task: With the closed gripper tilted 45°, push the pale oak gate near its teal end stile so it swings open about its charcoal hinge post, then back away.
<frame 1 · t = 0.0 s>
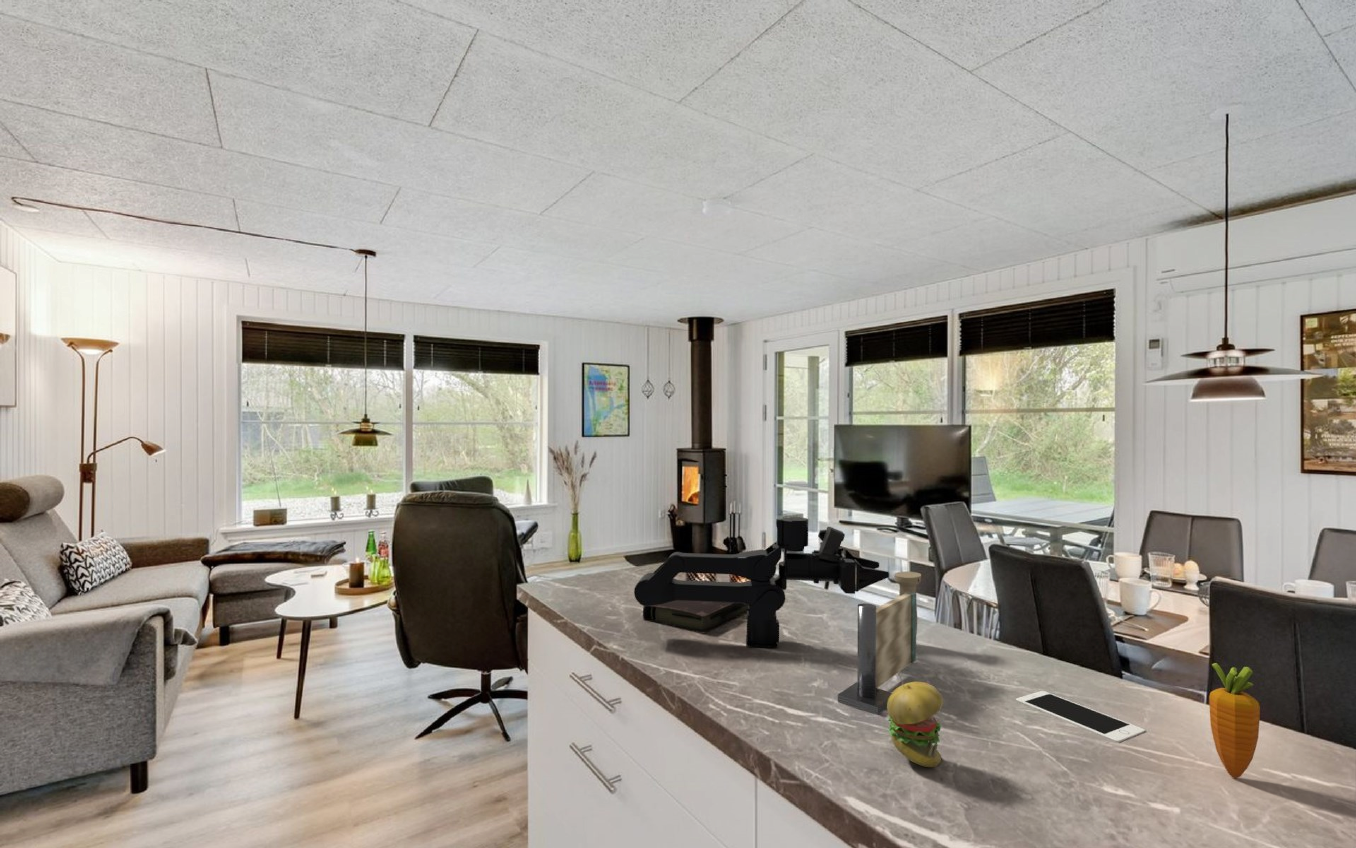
hand: (883, 569, 129), 17 cm above the worktop, tool horizontal, fingers open, 9 cm apart
carrot: (1234, 780, 81), on the worktop
gate: (892, 637, 112), point 8 cm above the worktop, hinge at 0.0°
hamburger: (914, 762, 85), on the worktop
hinge post: (866, 701, 104), on the worktop
handle: (907, 646, 131), on the worktop
cell phone: (1077, 718, 99), on the worktop
diary: (702, 617, 152), on the worktop
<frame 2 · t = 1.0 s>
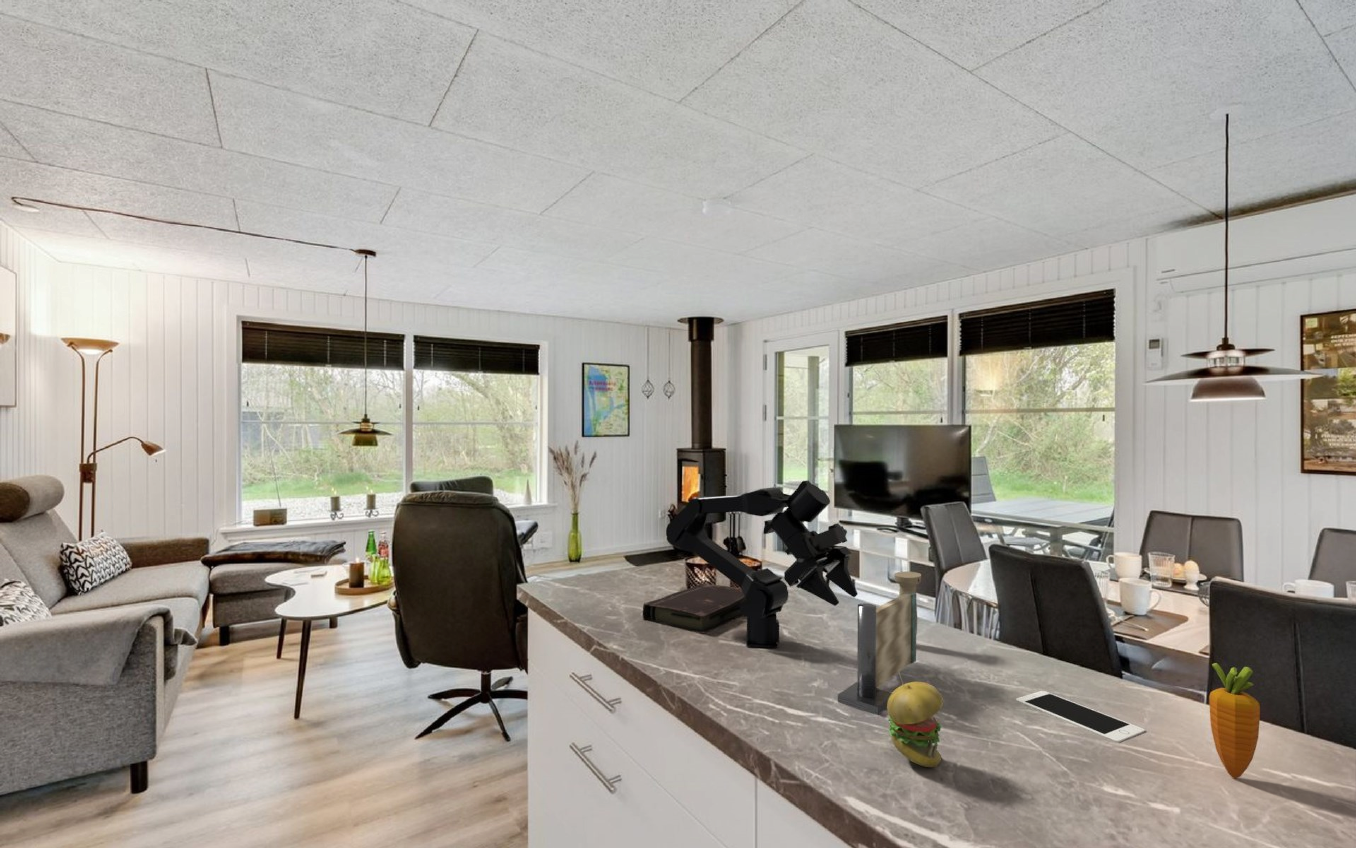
hand: (846, 600, 119), 13 cm above the worktop, tool tilted 45°, fingers open, 8 cm apart
nothing on the worktop moved.
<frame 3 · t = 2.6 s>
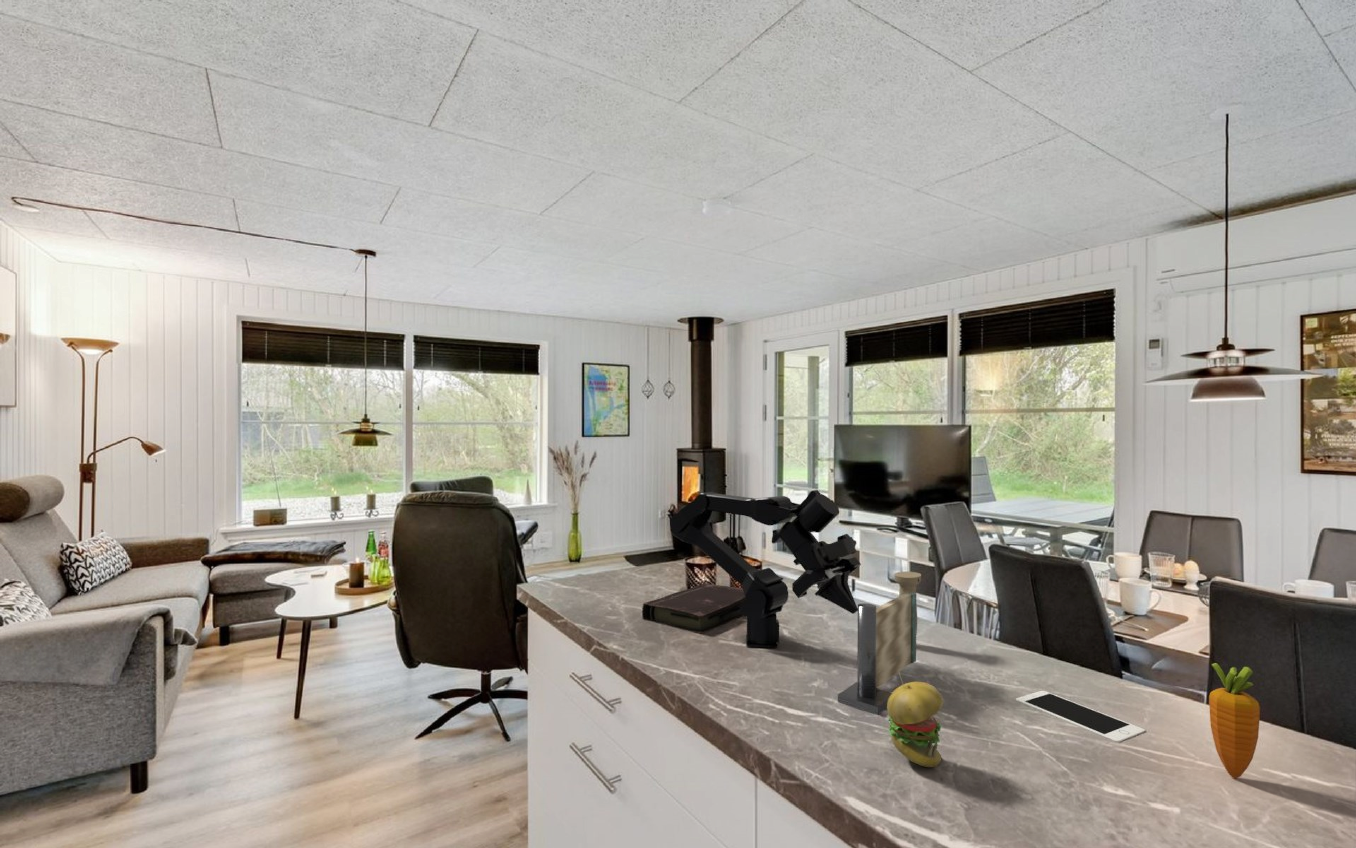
hand: (855, 612, 118), 11 cm above the worktop, tool tilted 45°, fingers closed
nothing on the worktop moved.
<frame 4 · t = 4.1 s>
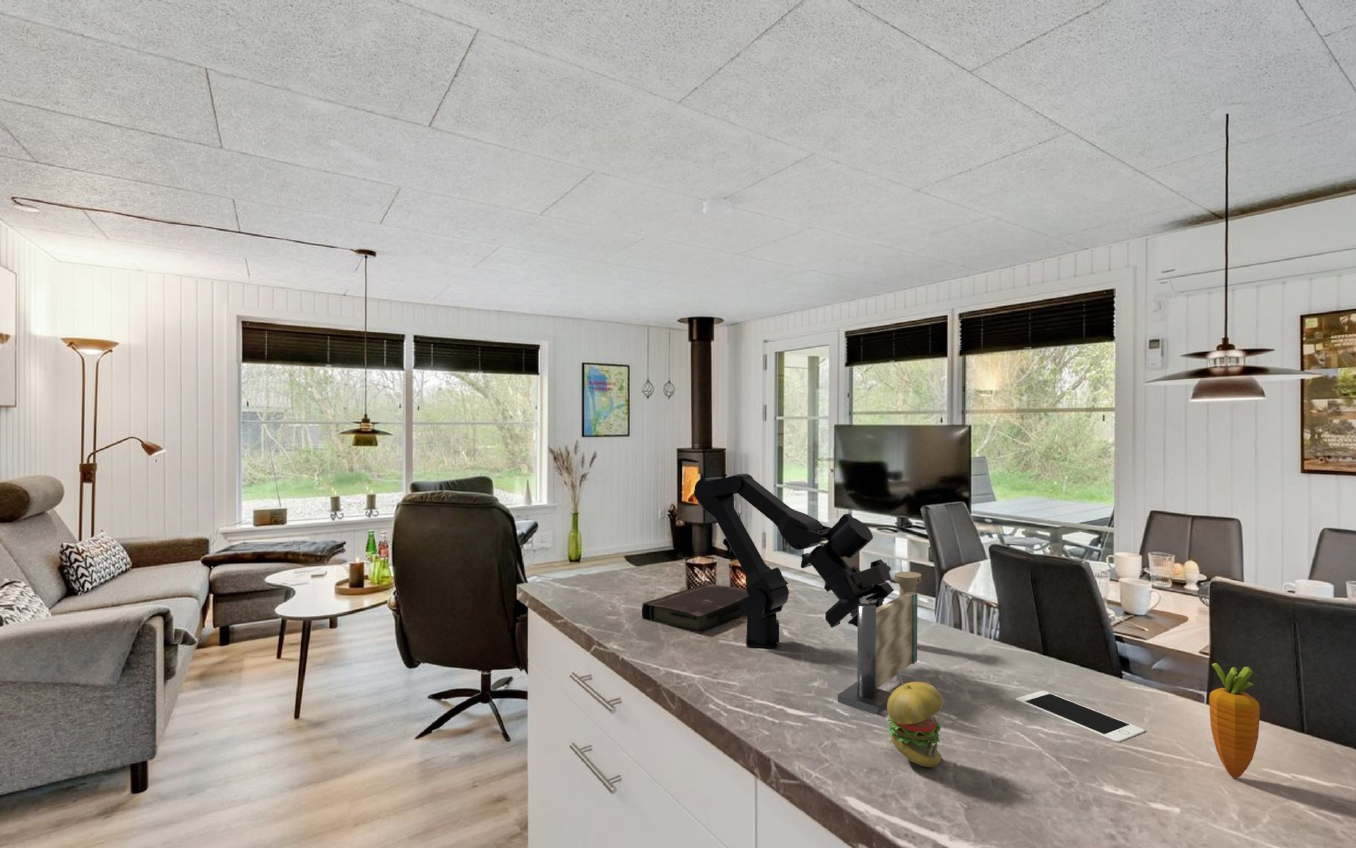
hand: (891, 642, 113), 7 cm above the worktop, tool tilted 45°, fingers closed, pressing on gate
gate: (893, 637, 112), point 8 cm above the worktop, hinge at 0.6°, touching gripper
everything else where it was.
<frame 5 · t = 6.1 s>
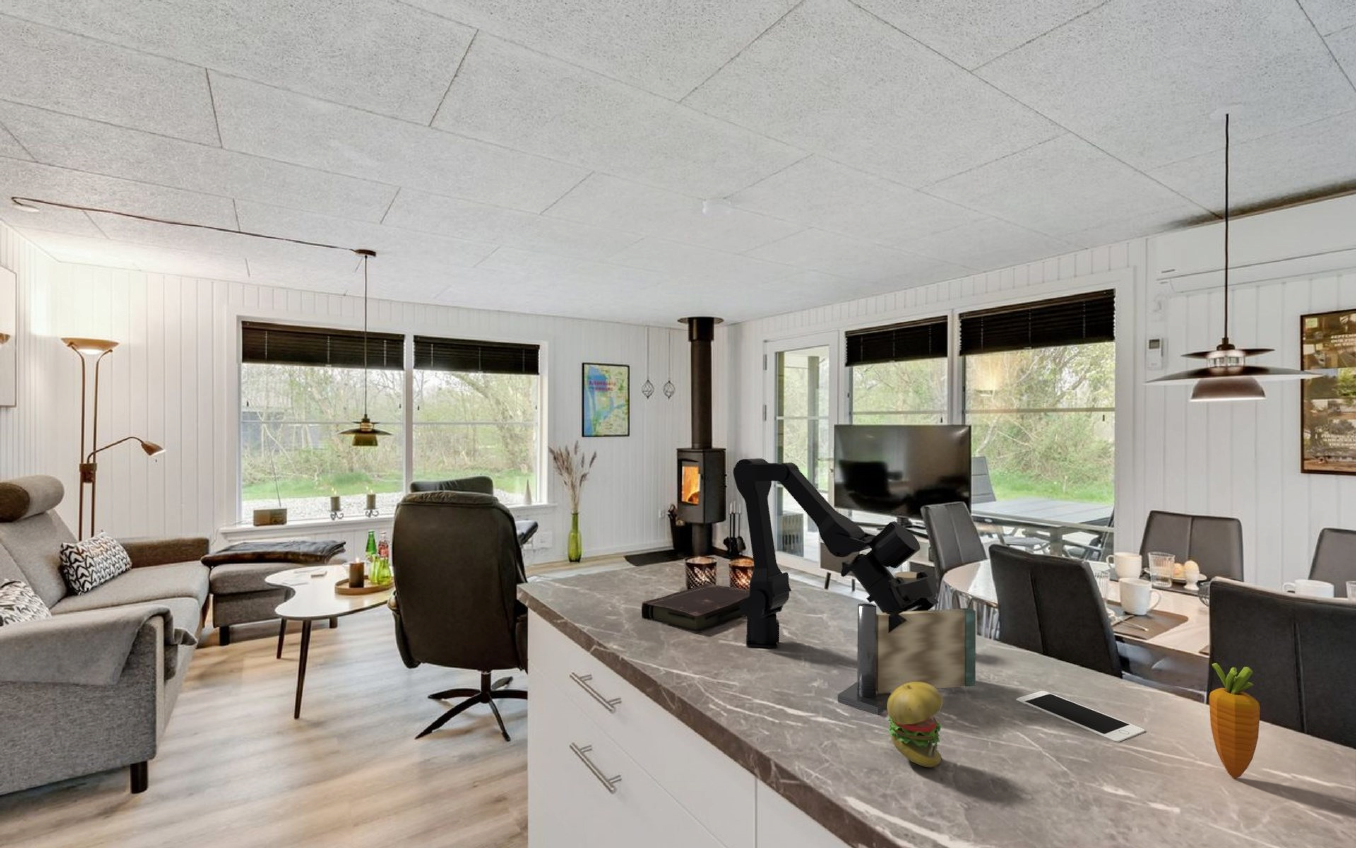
hand: (937, 658, 107), 6 cm above the worktop, tool tilted 45°, fingers closed
gate: (925, 649, 106), point 8 cm above the worktop, hinge at 37.4°, touching gripper
everything else where it was.
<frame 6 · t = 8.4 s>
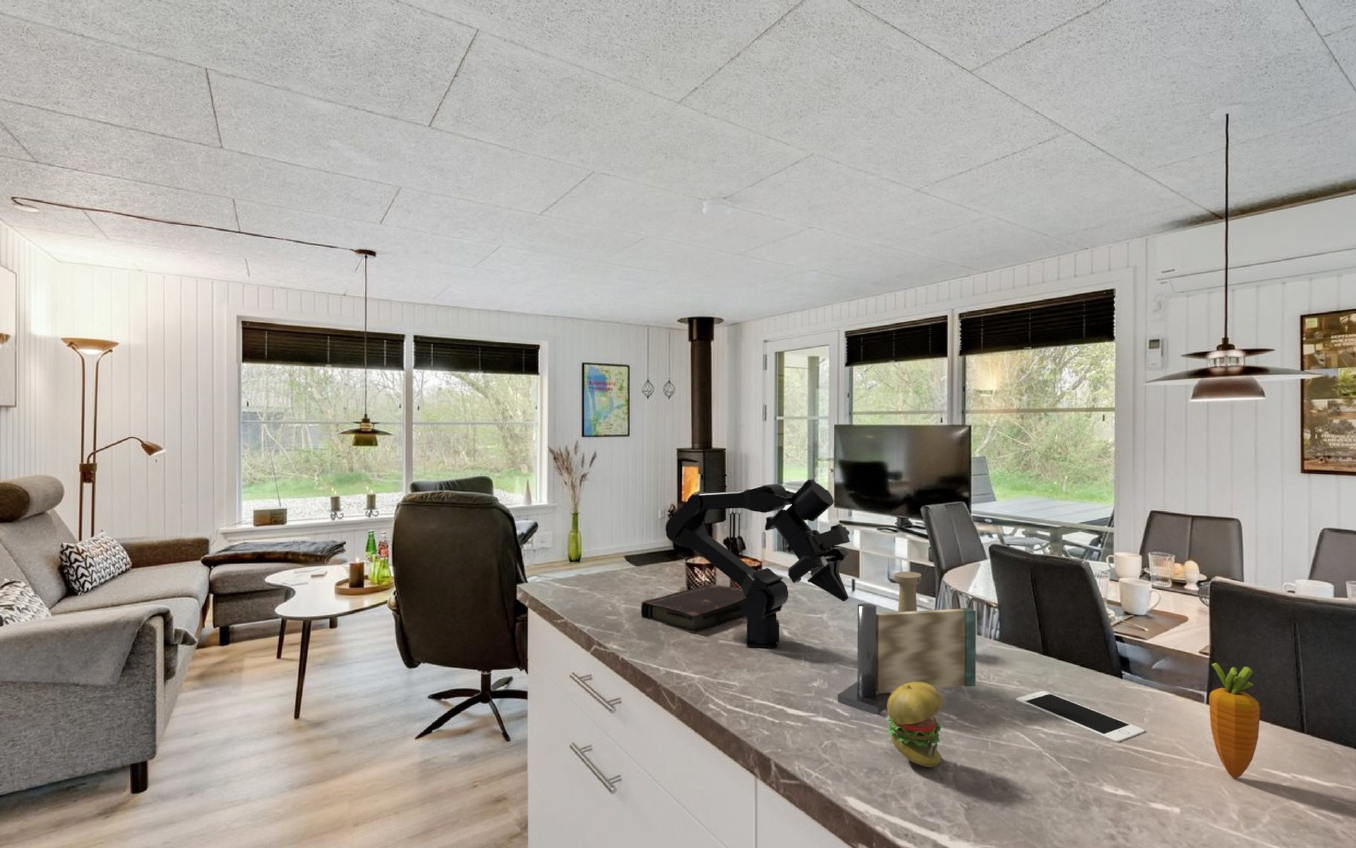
hand: (846, 600, 120), 13 cm above the worktop, tool tilted 40°, fingers closed
gate: (925, 649, 106), point 8 cm above the worktop, hinge at 37.5°
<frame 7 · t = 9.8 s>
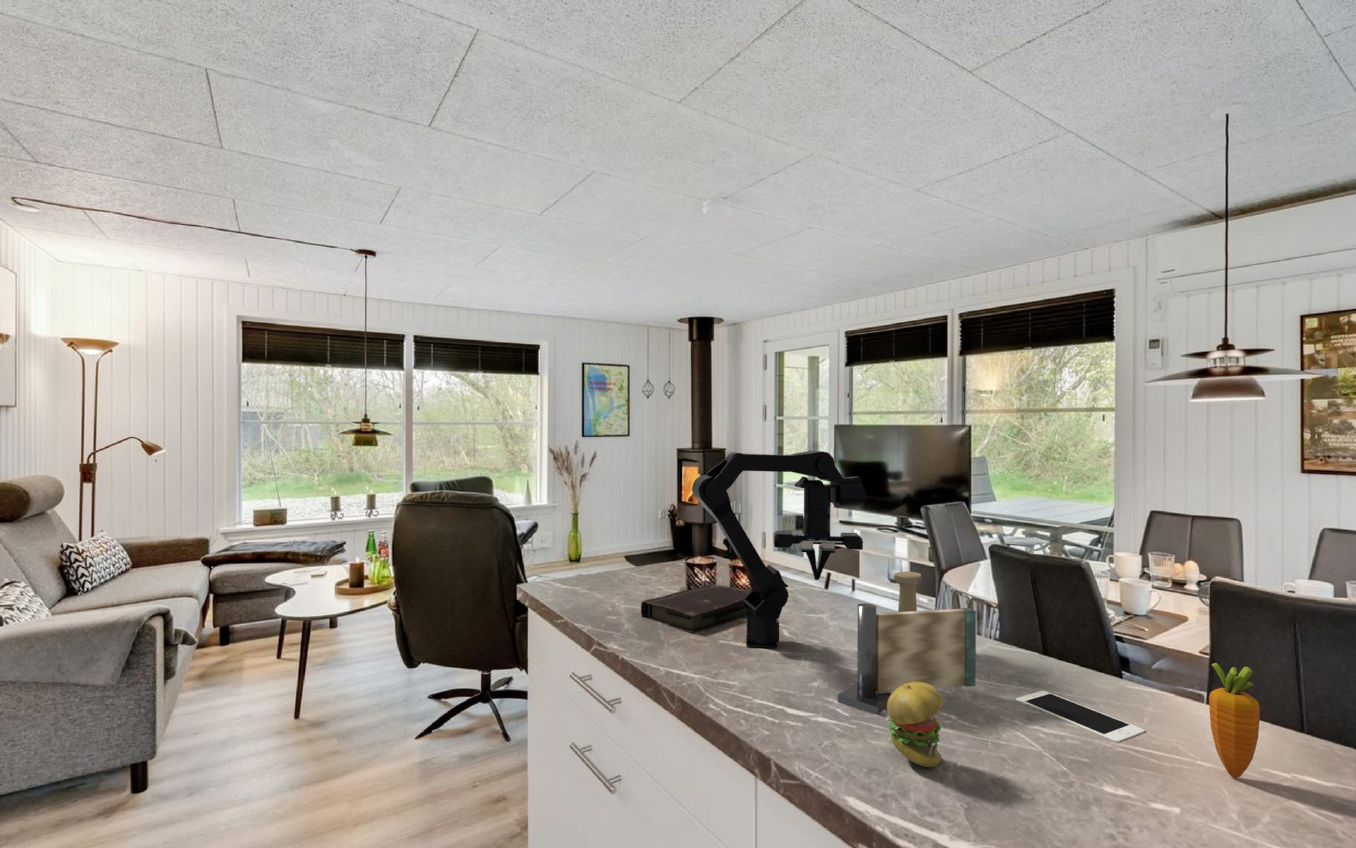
hand: (816, 579, 135), 13 cm above the worktop, tool pointing down, fingers closed
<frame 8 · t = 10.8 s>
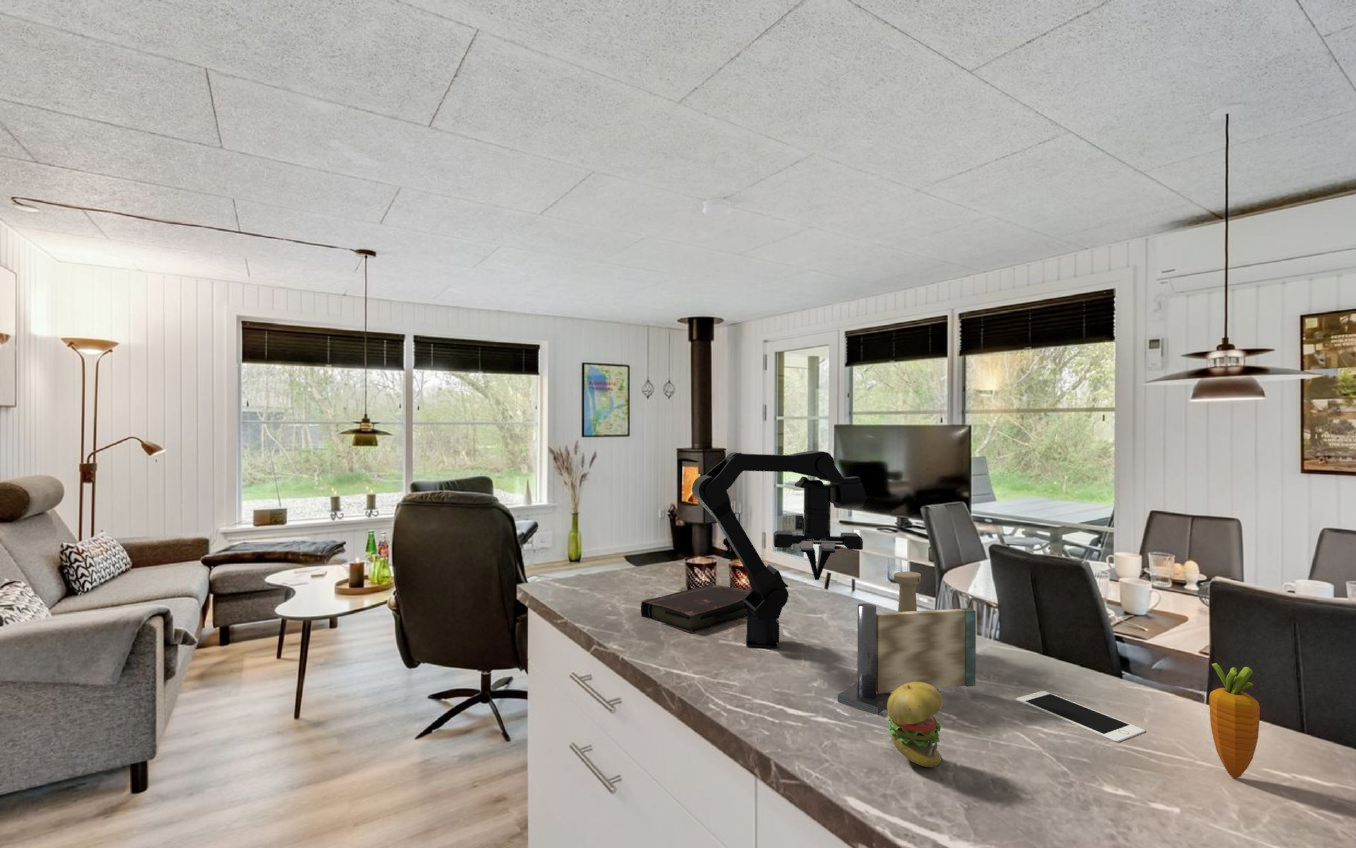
hand: (816, 579, 135), 13 cm above the worktop, tool pointing down, fingers closed
nothing on the worktop moved.
at the end: gate at +38° (first picture: +0°); gate touching nothing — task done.
